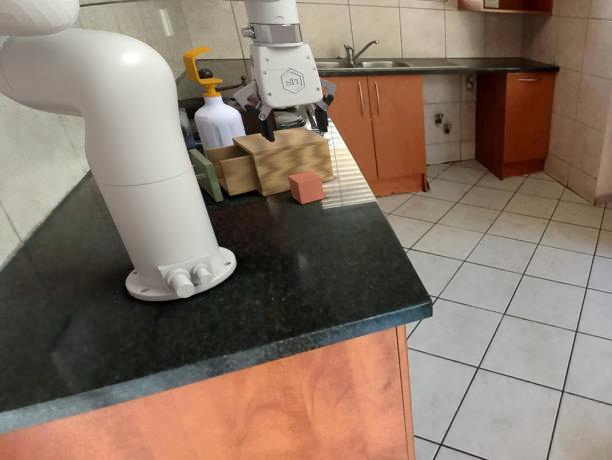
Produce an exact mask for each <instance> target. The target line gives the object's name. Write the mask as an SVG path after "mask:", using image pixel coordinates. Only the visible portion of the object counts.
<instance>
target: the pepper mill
mask: <svg viewBox="0 0 612 460" xmlns="http://www.w3.org/2000/svg"><path fill="white" fill-rule="evenodd" d="M197 72H198V76H199V78H200V79H208V78H214V72H213V70H212V69H210V68H207V67H203V68H202V67H201V68H199V69H197ZM240 80H241V82H240V83H237V84H232V85H226V86H220V87H216V86H215V87H214V88H215V91H216V92H223V91H228V90H234V89H238V88H241V87H245V86H246V85H248V84H249V81H247V76H246V75H243V74H242V75H240ZM204 89H206V87H204ZM247 100H248V102H249V103H250V104H251V105H252V106H253V107H255V108H256V107H257V105H258V103H259V101H258V100H257V98H256V95H253V94H252V95H250V96H249V97H248V98H247ZM227 105H228V106H231V107H233V108H234V109H236V110H238V112H239V113H240V115H241V118H242V122H243V126H244V130H245V134H246V135H253V134H260V133H261V132H260V128H259V124H258V120H257V117H255V116H254V115H252V114H251V113H249V112H247V111H246V110H244V109H243V107H242V106H241V105H240V104H239V103H238V102H237V101H236V100H232V101H231V100H230V101H228V102H227ZM267 117H268V119H270V120H271V124H272V128H273V131H279V128H278V124H277V119H276V115H275V112H274V108H272V109H271V111H270V113H269V114H268V116H267Z"/></svg>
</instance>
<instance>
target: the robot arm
mask: <svg viewBox="0 0 612 460" xmlns="http://www.w3.org/2000/svg"><path fill="white" fill-rule="evenodd" d="M223 1H225V2H226V1H227V2H243V5H244V8H245V13H246V16H247V17H246V18H247V26H245V27H240V33H241V36H242V37H243V38H248V39H250V41H251V42H253V43H250V44H249V62H250V63H249V64H250V72H251V80H252V81H251V82H248V84H247V85H246V86H245V87H244V86H242V88H240V89H239V90H237V91H236V92H234V93H233V95H232V97H233V98H234V101H237V102H238V103H239V104H240V105H241V106H242V107H243V109H244V110H246V111H247V112H249V113H251V114H252V115H254V116H255V117H257V120H258V124H259V128H260V132H261V135H262V136H263V137H265V139H267V140H268V141H270V142H274V141H275V137H274V132H273V128H272V124H271V120H270V119H268V117H267V116H268V114H269V113H270V111H271V109H272V108H273V109H285V108H293V107H299V106H307V105H314V107H315V108H314V110H313V112H314V118H315V124H316V128H317V130H318V131H320V132H322V133H324V134H325V133H329V128H328V127H329V126H330V123H329V118H328V117H329V116H328V111H329V110H330V106H331V104H332V103H333V101H334V99H335V98H334V97H335V95H336V91H337V89H338V86H337V84H335V83H332V82H330V81H328V80H326V79H324V78H321V77H320V75H319V72H318V68H317V65H316V61H315V57H314V55H313V52H312V49H311V47H310V44H309V43H306V42H304V39H303V34H302V28H301V23H300V18H299V13H298V5H297V0H223ZM80 5H81V4H80V0H0V94H2V95H3V96H5V97H7V99H10V100H12V101H13V102H16V103H18V104H20V105H22V106H25V107H26V108H30V109H32V110H35V111H39V112H44V113H50V114H55V115H63V116H72V117H80V118H83V121H84V129H85V130H84V153H85V158H86V162H87V164H88V167H89V170H90V172H91V174H92V177H93V179H94V181H95V182H96V184H97V187H98V189H99V192H100V194H101V196H102V198H103V200H104V203H105V205H106V207H107V209H108V211H109V214H110V216H111V218H112V220H113V223H114V225H115V226H116V230H117V231H118V235H119V236H120V239H121V240H122V243H123V245H124V247H125V250H126V252H127V254H128V256H129V259H130V261H131V263H132V265H133V267H134V269H133V270H132V271H131V272H130V273H129V274H128V276H127V277H126V279H125V287H126V289H127V291H128V293H129V294H130V296H132V297H134V298H135V299H138V300H141V301H147V302H165V301H172V300H179V299H186V298H189V297H191V296H194V295H198V294H200V293H202V292H205V291H208V290H209V289H212V288H214V287H215V286H217V285H219V284H220V283H222V282H224V281H225V280H227V279H228V278H229V277H230V276H231V275H232V274H233V273H234V271H235V269H237V268H236V267H237V259H236V255H235V254H234V252H233V251H231V250H230V249H228V248H225V247H221V246H219V244H218V241H217V237H216V235H215V232H214V228H213V226H212V225H213V224H212V223H211V220H210V219H211V218H210V216H209V213H208V210H207V208H206V203H205V201H204V198H203V194H202V191H201V188H200V184H199V181H198V179H196V176H195V175H196V172H195V169H193V167H192V165H193V163H192V160H191V157H190V154H189V152H188V151H187V148H186V145H185V141H184V138H183V134H182V130H181V125H180V119H179V111H178V107H179V101H178V89H177V88H178V87H177V83H176V79H175V76H174V73H173V71H172V68H171V67H170V65H169V63H168V62H167V60H165V58H164V57H163V56H162V55H161V54H160V53H159V52H158V50H156V49H154V48H153V47H152V46H150V45H149V44H147V43H146V42H144V41H142V40H140V39H137V38H135V37H132V36H130V35H127V34H123V33H119V32H114V31H110V30H109V31H108V30H99V29H87V28H76V27H75V28H74V27H72V26H73V24H75V23H76V21H77V19H78V17H79V15H80V11H81V6H80ZM323 88H325V94H324V95H323ZM254 94H255V95H254ZM250 95H252V96H253V95H254V96H255V97H256V98H257V100H258V101H259V103H258V105H257V107H256V108H255V107H253V106H252V105H251V104H250V103H249V102H248V100H247V98H248V97H249V96H250Z"/></svg>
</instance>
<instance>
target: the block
mask: <svg viewBox="0 0 612 460" xmlns="http://www.w3.org/2000/svg"><path fill="white" fill-rule="evenodd" d="M288 178H289V183H290V188H291V190H290V191H291V196H292V199H294V200H296V201H297V202H298V203H300V204H301V205H304V204H308V203H312V202H316V201H319V200H323V199H325V192H324V188H323V182H322V181H321V177H319V176H318V175H316V174H315V173H313V172H312V171H309V172H304V173H300V174H295V175H291V176H288Z"/></svg>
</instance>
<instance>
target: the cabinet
mask: <svg viewBox="0 0 612 460" xmlns="http://www.w3.org/2000/svg"><path fill="white" fill-rule="evenodd" d="M273 132H274V137H275V141H274V142H270V141H268V140H267V139H265V137H263V136H262V135H261V133H260V134H253V135H246V136H240V137H233V138H232V141H233V144H234V145H235V144H237V145H239V146H240V147H241V148H243V149H244V150H246V151H247V152H248V153H250V154H251V155H253V160H254V164H255V168H256V172H257V176H258V180H259V184H260V188H261V189H257V190H256V191H257V192H258V193H259V194H260V195H261V196H263V197H267V196H271V195H275V194H279V193H283V192H289V191H291V188H290V183H289V178H288V176H291V175H295V174H300V173H304V172H309V171H312V172H313V173H315V174H316V175H318V176H319V177H321V181H322V183H324V182H329V181H333V180H335V176H334V169H333V163H332V157H331V151H330V145H329V139H328V138H326V137H324V136H323V135H321V134H319V133H317V132H314V131H313V130H310V129H308V128H307V127H305V126H300V127H292V128H286V129H280V130H279V129H278V131H273Z"/></svg>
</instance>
